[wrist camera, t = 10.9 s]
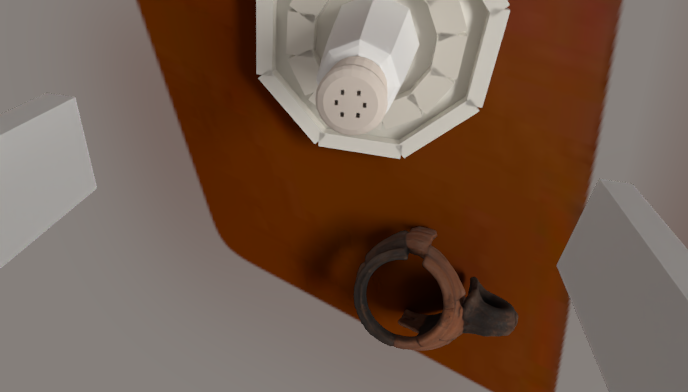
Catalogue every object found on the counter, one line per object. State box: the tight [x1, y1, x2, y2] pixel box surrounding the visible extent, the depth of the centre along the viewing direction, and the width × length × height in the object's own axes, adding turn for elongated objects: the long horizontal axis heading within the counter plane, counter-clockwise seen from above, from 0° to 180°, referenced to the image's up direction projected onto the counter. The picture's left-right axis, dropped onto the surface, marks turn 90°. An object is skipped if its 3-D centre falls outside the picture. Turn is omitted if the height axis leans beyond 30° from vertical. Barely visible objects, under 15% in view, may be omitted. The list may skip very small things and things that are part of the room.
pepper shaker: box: [315, 0, 419, 136], centre depth 21 cm, size 5×5×11 cm
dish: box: [256, 0, 510, 159], centre depth 26 cm, size 14×14×2 cm
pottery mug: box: [354, 226, 518, 350], centre depth 33 cm, size 12×10×8 cm
